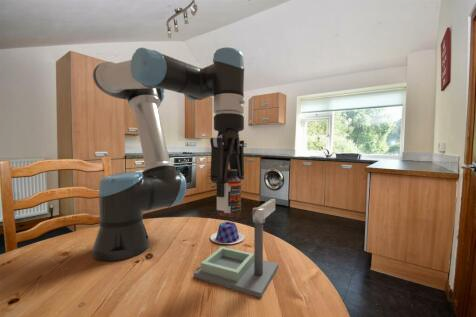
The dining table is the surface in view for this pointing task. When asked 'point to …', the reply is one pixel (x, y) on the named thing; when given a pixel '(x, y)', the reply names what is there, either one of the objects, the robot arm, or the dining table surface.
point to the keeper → (263, 211)
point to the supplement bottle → (232, 195)
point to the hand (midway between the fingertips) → (229, 206)
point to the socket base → (239, 267)
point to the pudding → (227, 234)
